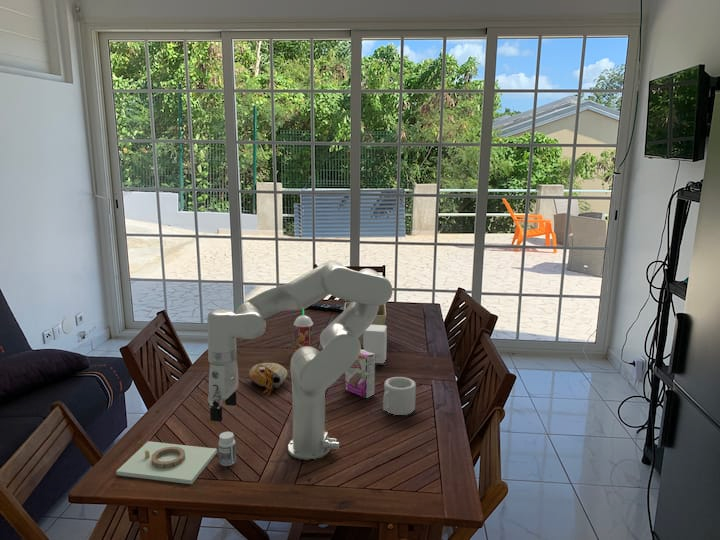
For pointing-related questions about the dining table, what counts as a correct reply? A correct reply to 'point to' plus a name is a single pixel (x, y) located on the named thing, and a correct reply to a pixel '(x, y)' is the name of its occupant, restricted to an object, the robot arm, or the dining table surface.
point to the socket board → (168, 462)
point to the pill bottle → (227, 449)
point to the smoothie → (303, 331)
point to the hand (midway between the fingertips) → (223, 412)
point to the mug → (399, 396)
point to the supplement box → (376, 341)
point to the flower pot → (378, 319)
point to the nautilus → (268, 375)
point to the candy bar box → (362, 375)
